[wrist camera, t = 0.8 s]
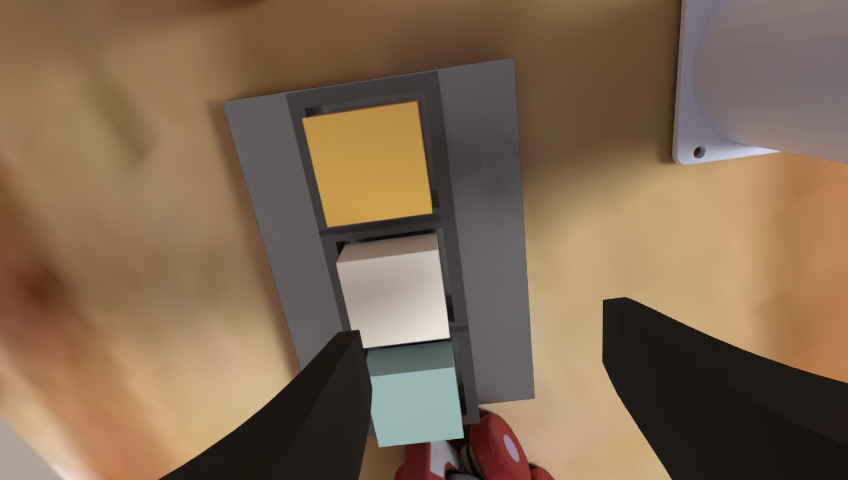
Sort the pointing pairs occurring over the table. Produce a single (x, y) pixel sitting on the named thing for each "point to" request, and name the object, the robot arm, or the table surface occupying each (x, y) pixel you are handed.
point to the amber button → (370, 163)
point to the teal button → (414, 394)
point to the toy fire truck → (472, 457)
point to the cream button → (394, 290)
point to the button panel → (450, 219)
